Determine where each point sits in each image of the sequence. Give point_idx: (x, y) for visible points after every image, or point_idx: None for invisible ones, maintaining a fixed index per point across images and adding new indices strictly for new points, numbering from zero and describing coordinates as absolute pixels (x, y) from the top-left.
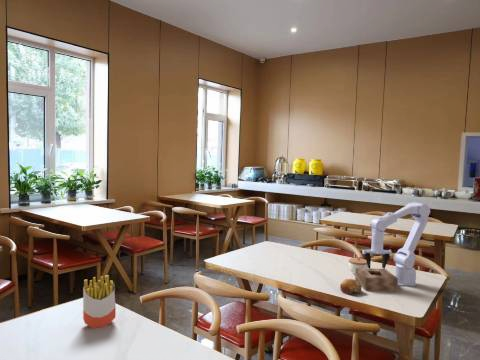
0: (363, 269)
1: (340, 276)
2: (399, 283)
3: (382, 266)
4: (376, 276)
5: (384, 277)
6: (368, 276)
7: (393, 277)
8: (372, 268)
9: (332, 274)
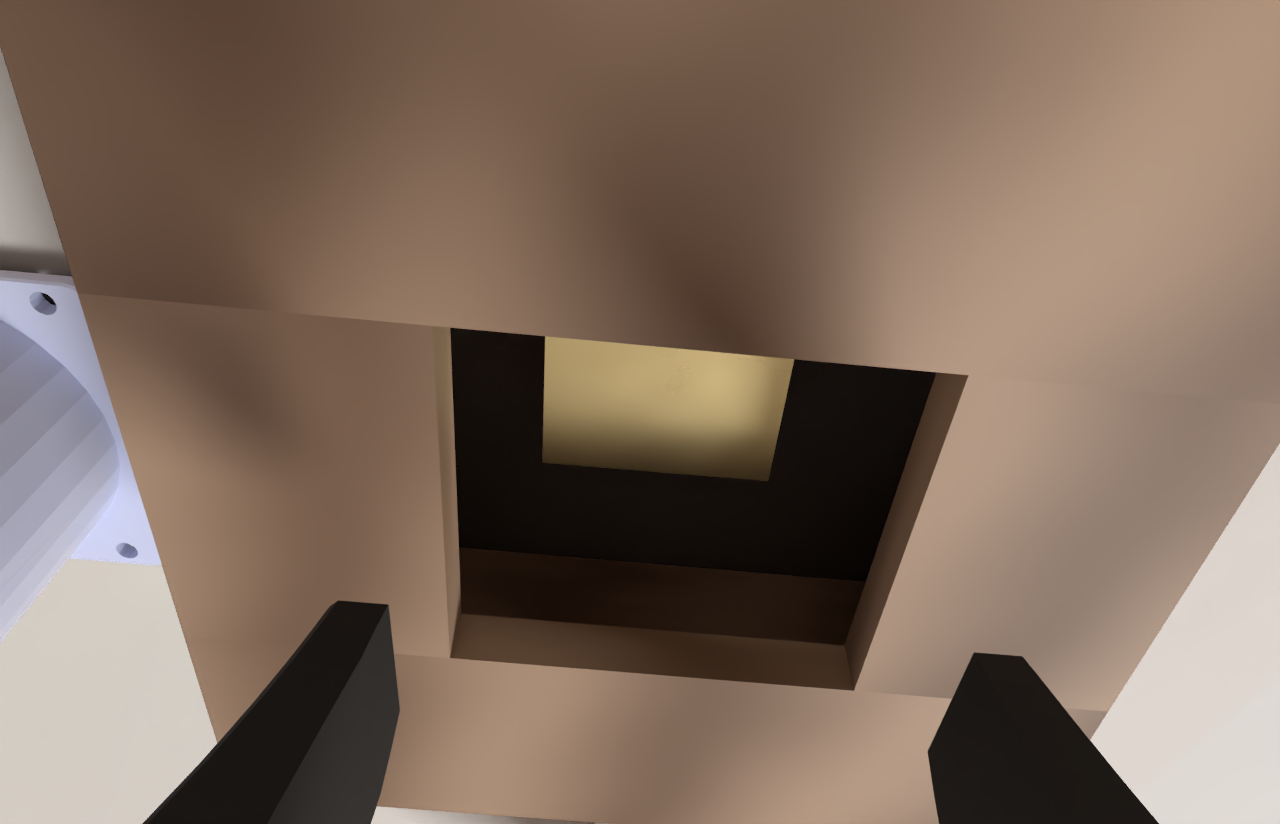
0: (880, 776)
1: (1099, 749)
2: (40, 352)
3: (384, 736)
4: (902, 161)
5: (592, 10)
6: (1272, 172)
7: (142, 3)
8: (577, 820)
9: (1169, 817)
